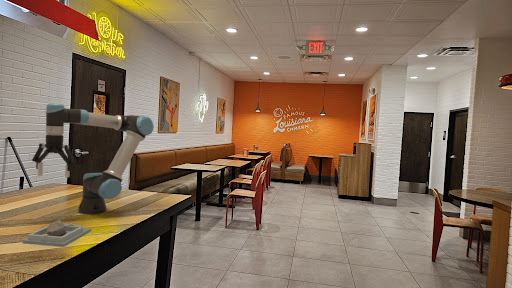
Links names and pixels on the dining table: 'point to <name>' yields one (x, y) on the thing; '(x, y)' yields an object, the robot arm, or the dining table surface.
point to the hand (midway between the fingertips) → (53, 176)
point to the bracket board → (62, 240)
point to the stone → (56, 229)
